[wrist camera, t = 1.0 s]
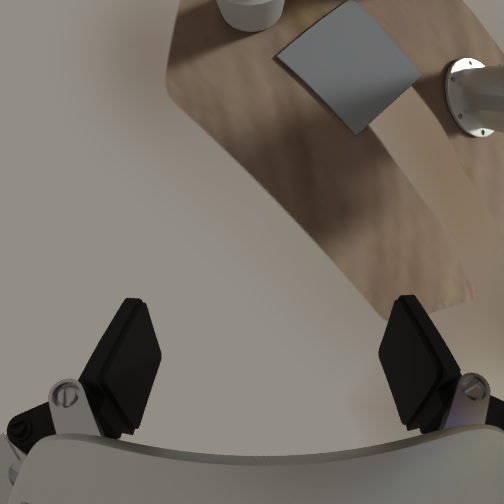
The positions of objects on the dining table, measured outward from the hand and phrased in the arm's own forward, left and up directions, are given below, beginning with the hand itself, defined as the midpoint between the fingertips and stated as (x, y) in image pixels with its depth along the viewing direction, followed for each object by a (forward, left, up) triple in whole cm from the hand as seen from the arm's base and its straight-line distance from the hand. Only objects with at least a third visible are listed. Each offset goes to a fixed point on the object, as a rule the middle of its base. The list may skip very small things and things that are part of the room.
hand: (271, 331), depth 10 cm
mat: (-19, -2, -29) cm, 35 cm away
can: (-15, -16, -29) cm, 36 cm away
